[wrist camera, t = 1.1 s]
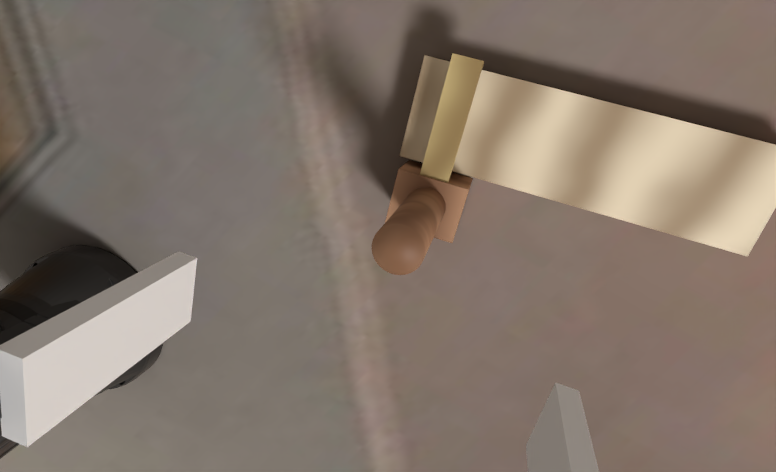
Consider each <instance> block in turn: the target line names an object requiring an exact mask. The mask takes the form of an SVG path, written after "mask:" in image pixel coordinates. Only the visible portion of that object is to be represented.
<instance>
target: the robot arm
mask: <svg viewBox="0 0 776 472" xmlns="http://www.w3.org/2000/svg"><path fill="white" fill-rule="evenodd" d="M196 264H197V258H196V257H193V256H190V255H187V254H185V253H182V252H179V251H178V252H176V253H175V254H173V255H171V256H169V257H167V258H165V259H163V260H161V261H159V262H157V263H155V264H154V265H152V266H150V267H148V268H146V269H144V270H142V271H140V272H138V273H136V272H135V271H134V270H133V269H132V268H131V267H130V266H129V265H128V264H126V263H125V262H124V261H122V260H121V259H119V258H118V257H116V256H115V255H113V254H111V253H109V252H107V251H104V250H102V249H99V248H96V247H91V246H84V245H76V246H70V247H66V248H63V249H60V250H58V251H55V252H53V253H50V254H47V255H45V256H43V257H41V258H40V259H38V260H37V261H35V262H34V263H33V264H32V265H31V266H29V267H28V269H27V270H26V271H25V272H24V274H23V275H21V276H20V277H19V278H17V279H16V280H15V281H13V282H12V283H10V284H9V285H8V286H6V287H5V288H4V289H2V290H1V291H0V459H1V458H2V457H3V456H5V455H6V454H7V453H8V452H10V451H11V450H12V449H14V448H15V447H16V446H18V445H19V444H21V445H23V446H26V447H28V446H29V445H31V444H32V443H33V442H35V441H36V440H37V439H38V438H40V437H41V436H42V435H44V434H45V433H46V432H48V431H49V430H50V429H51V428H53V427H54V426H55V425H57V424H58V423H59V422H61V421H62V420H63V419H64V418H66V417H67V416H68V415H70V414H71V413H72V412H74V411H75V410H76V409H77V408H79V407H80V406H81V405H83V404H84V403H85V402H87V401H88V400H89V399H90V398H92V397H93V396H95V395H97V394H99V393H101V392H103V391H105V390H107V389H113V388H118V387H120V386H123V385H126V384H128V383H130V382H131V381H133V380H134V379H136V378H137V377H138V376H140V375H141V374H142V373H143V372H145V371H146V370H147V369H148V368H150V367H151V366H152V365H153V364H154V363H155V361H156V360H157V358H158V356H159V355H160V352H161V349H162V346H163V342H164V341H166V340H167V339H168V338H170V337H171V336H172V335H174V334H175V333H176V332H177V331H179V330H180V329H181V328H183V327H184V326H185V325H186V324H188V323H189V322H190V321H191V313H192V303H193V293H194V284H195V274H196ZM526 450H527V466H528V472H599V470H598V465H597V461H596V457H595V453H594V449H593V445H592V441H591V437H590V433H589V429H588V425H587V421H586V417H585V413H584V409H583V405H582V401H581V397H580V393H579V390H576V389H573V388H570V387H567V386H564V385H561V384H559V383H556V382H555V385H554V387H553V389H552V391H551V393H550V395H549V397H548V399H547V402H546V404H545V406H544V408H543V410H542V412H541V414H540V417H539V419H538V421H537V423H536V425H535V427H534V429H533V431H532V434H531V436H530V438H529V440H528V442H527V444H526Z"/></svg>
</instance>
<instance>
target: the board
mask: <svg viewBox="0 0 776 472" xmlns="http://www.w3.org/2000/svg"><path fill="white" fill-rule="evenodd" d="M449 64H450V62H449V61H445V60H441V59H437V58H433V57H430V56H426V55H424V59H423V63H422V67H421V71H420V76H419V80H418V84H417V88H416V92H415V96H414V100H413V104H412V108H411V112H410V116H409V120H408V124H407V128H406V132H405V136H404V140H403V144H402V148H401V152H400V156H402V157H405V158H409V159H412V160H415V161H419V162H422V163H423V161H424V157H425V153H426V150H427V146H428V142H429V139H430V135H431V131H432V127H433V124H434V120H435V116H436V113H437V109H438V105H439V101H440V98H441V94H442V90H443V87H444V83H445V79H446V75H447V72H448V68H449ZM452 171H454V172H457V173H460V174H464V175H467V176H471V177H474V178H478V179H481V180H485V181H488V182H492V183H495V184H499V185H502V186H505V187H509V188H512V189H516V190H519V191H523V192H526V193H530V194H533V195H537V196H540V197H544V198H547V199H550V200H554V201H557V202H561V203H564V204H568V205H571V206H575V207H578V208H582V209H585V210H589V211H592V212H595V213H599V214H602V215H606V216H609V217H613V218H616V219H620V220H623V221H627V222H630V223H634V224H637V225H640V226H644V227H647V228H651V229H654V230H658V231H661V232H665V233H668V234H672V235H675V236H679V237H682V238H685V239H689V240H692V241H696V242H699V243H703V244H706V245H710V246H713V247H717V248H720V249H723V250H727V251H730V252H734V253H737V254H741V255H744V256H748V255H749V253H750V251H751V250H752V248H753V246H754V244H755V243H756V241H757V239H758V237H759V236H760V234H761V232H762V230H763V229H764V227H765V225H766V223H767V222H768V220H769V218H770V217H771V215H772V213H773V211H774V210H775V208H776V145H775V144H771V143H767V142H763V141H759V140H755V139H751V138H748V137H744V136H740V135H736V134H732V133H728V132H724V131H720V130H716V129H712V128H708V127H704V126H700V125H696V124H693V123H689V122H685V121H681V120H677V119H673V118H669V117H665V116H661V115H657V114H653V113H649V112H645V111H642V110H638V109H634V108H630V107H626V106H622V105H618V104H614V103H610V102H606V101H602V100H598V99H594V98H591V97H587V96H583V95H579V94H575V93H571V92H567V91H563V90H559V89H555V88H551V87H547V86H543V85H539V84H536V83H532V82H528V81H524V80H520V79H516V78H512V77H508V76H504V75H500V74H496V73H492V72H488V71H485V70H482V71H481V74H480V78H479V81H478V85H477V88H476V91H475V95H474V98H473V102H472V105H471V108H470V112H469V115H468V119H467V122H466V125H465V129H464V132H463V136H462V139H461V142H460V146H459V149H458V152H457V156H456V159H455V163H454V166H453V169H452Z"/></svg>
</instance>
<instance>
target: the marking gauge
mask: <svg viewBox="0 0 776 472" xmlns="http://www.w3.org/2000/svg"><path fill="white" fill-rule="evenodd" d="M483 64H484V61H482V60H478V59H474V58H470V57H466V56H462V55H458V54H454V53H452V57H451V61H450V64H449V68H448V72H447V75H446V79H445V83H444V87H443V90H442V94H441V98H440V101H439V105H438V109H437V113H436V116H435V120H434V124H433V127H432V131H431V135H430V139H429V142H428V146H427V150H426V153H425V157H424V161H423V164H421V163H418V162H414V161H411V160H409V161H408V162H407V163H405V164H404V165H403V166H402V167H401V168H399V169H398V173H397V177H396V181H395V185H394V189H393V193H392V197H391V201H390V205H389V209H388V213H387V217H386V221H385V222H386V223H385V224H384V225H383V226H382V227H381V229H380V230H379V231H378V232H377V233H376V235H375V237H374V239H373V242H372V253H373V256H374V259H375V261H376V262H377V264H378V265H379V266H380V267H381V268H382V269H384V270H385V271H387V272H389V273H391V274H395V275H405V274H409V273H411V272H413V271H415V270H416V269H417V268H418V267H419V266H420V265H421V263H422V261H423V259H424V257H425V255H426V253H427V251H428V248H429V246H430V244H431V242H432V240H433V238H437V239H440V240H444V241H447V242H450V243H452V242H453V239H454V236H455V233H456V230H457V227H458V224H459V220H460V217H461V214H462V211H463V208H464V204H465V201H466V198H467V195H468V192H469V189H470V185H471V182H472V179H473V178H470V177H466V176H463V175H459V174H456V173H452V169H453V166H454V163H455V159H456V156H457V152H458V149H459V146H460V142H461V139H462V136H463V132H464V129H465V125H466V122H467V119H468V115H469V112H470V108H471V105H472V102H473V98H474V95H475V91H476V88H477V85H478V81H479V78H480V74H481V71H482V68H483Z"/></svg>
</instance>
